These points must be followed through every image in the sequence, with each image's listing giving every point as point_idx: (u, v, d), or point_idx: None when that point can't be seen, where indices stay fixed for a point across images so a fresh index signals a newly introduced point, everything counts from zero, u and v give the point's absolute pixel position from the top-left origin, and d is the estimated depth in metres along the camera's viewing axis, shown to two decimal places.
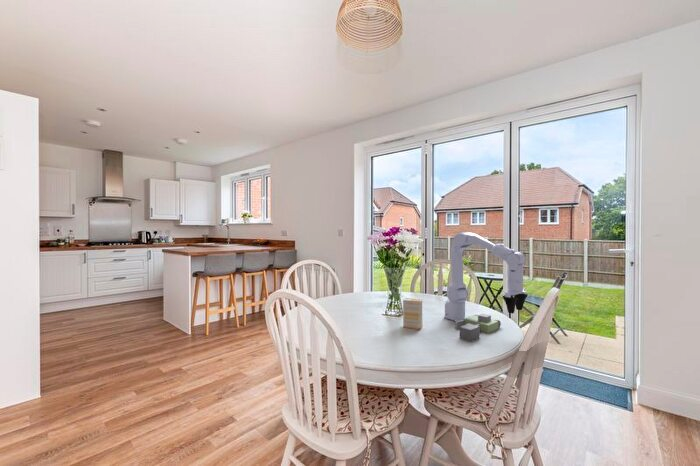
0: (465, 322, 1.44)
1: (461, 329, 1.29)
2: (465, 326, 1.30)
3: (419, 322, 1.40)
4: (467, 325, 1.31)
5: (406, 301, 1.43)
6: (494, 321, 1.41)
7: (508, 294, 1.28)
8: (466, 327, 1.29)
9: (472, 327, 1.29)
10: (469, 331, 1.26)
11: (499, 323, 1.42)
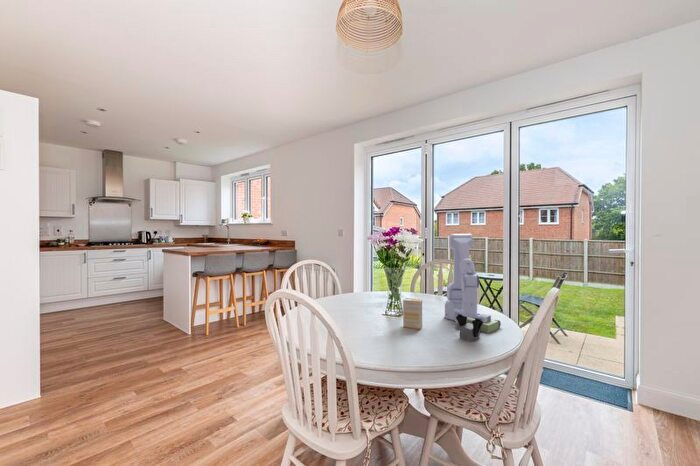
0: None
1: (461, 329, 1.29)
2: (465, 326, 1.30)
3: (419, 322, 1.40)
4: (467, 325, 1.31)
5: (406, 301, 1.43)
6: (494, 321, 1.41)
7: None
8: (466, 326, 1.29)
9: (472, 327, 1.29)
10: (469, 331, 1.26)
11: (499, 323, 1.42)
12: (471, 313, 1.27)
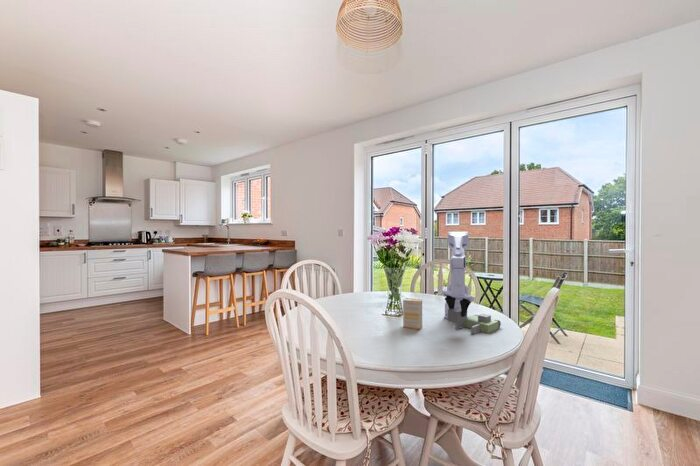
0: (465, 322, 1.44)
1: (449, 312, 1.34)
2: (453, 309, 1.35)
3: (419, 322, 1.40)
4: (455, 308, 1.36)
5: (406, 301, 1.43)
6: (494, 321, 1.41)
7: None
8: (454, 309, 1.34)
9: (460, 310, 1.33)
10: (457, 313, 1.31)
11: (499, 323, 1.42)
12: (459, 293, 1.32)
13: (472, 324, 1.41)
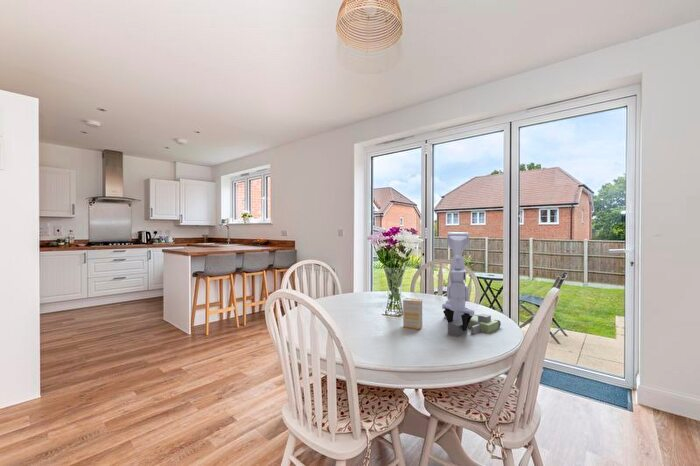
0: None
1: (449, 325, 1.34)
2: (453, 322, 1.35)
3: (419, 322, 1.40)
4: (455, 321, 1.36)
5: (406, 301, 1.43)
6: (494, 321, 1.41)
7: None
8: (454, 323, 1.34)
9: (460, 323, 1.34)
10: (456, 327, 1.31)
11: (499, 323, 1.42)
12: (459, 307, 1.32)
13: (472, 324, 1.41)
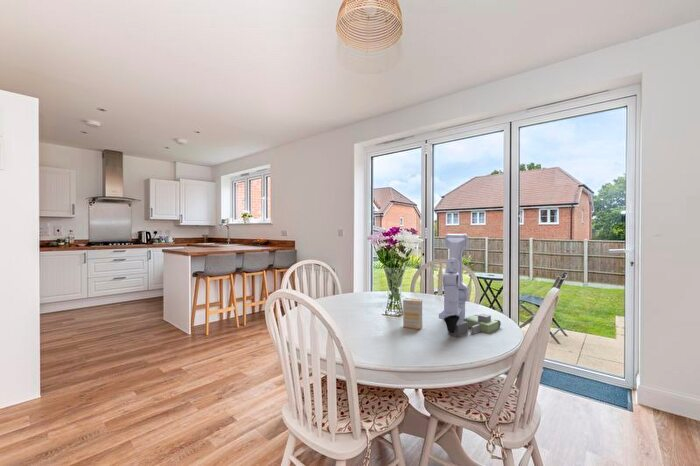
0: None
1: None
2: None
3: (419, 322, 1.40)
4: None
5: (406, 301, 1.43)
6: (494, 321, 1.41)
7: (442, 316, 1.27)
8: None
9: (460, 323, 1.34)
10: (457, 326, 1.31)
11: (499, 323, 1.42)
12: None
13: (472, 324, 1.41)
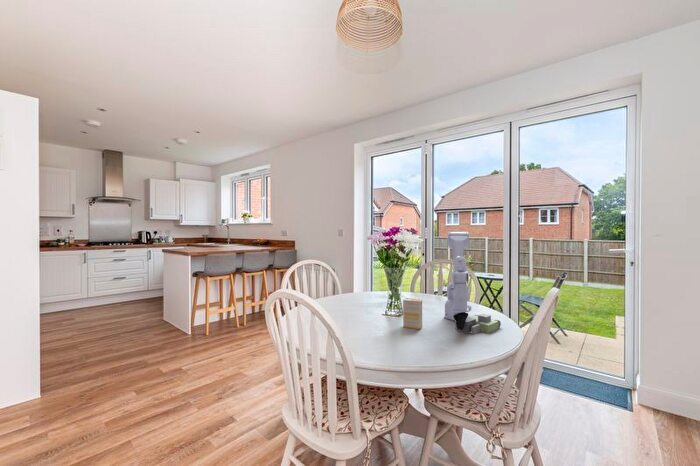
0: None
1: None
2: None
3: (419, 322, 1.40)
4: None
5: (406, 301, 1.43)
6: (494, 321, 1.41)
7: (451, 313, 1.31)
8: None
9: (469, 320, 1.38)
10: (466, 323, 1.36)
11: (499, 323, 1.42)
12: None
13: None
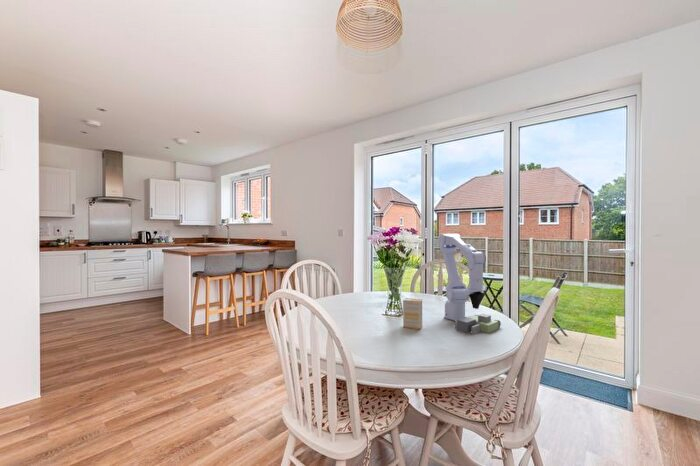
0: None
1: (458, 322, 1.38)
2: (462, 319, 1.39)
3: (419, 322, 1.40)
4: (464, 318, 1.41)
5: (406, 301, 1.43)
6: (494, 321, 1.41)
7: (468, 292, 1.35)
8: (463, 320, 1.39)
9: (469, 320, 1.38)
10: (466, 324, 1.36)
11: (499, 323, 1.42)
12: None
13: None
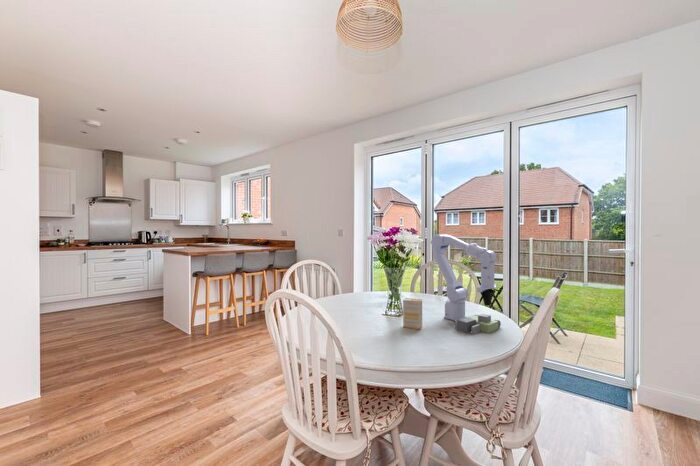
0: None
1: (458, 322, 1.39)
2: (462, 319, 1.40)
3: (419, 322, 1.40)
4: (464, 318, 1.41)
5: (406, 301, 1.43)
6: (494, 321, 1.41)
7: (480, 289, 1.39)
8: (463, 319, 1.39)
9: (469, 320, 1.38)
10: (465, 323, 1.36)
11: (499, 323, 1.42)
12: None
13: None
